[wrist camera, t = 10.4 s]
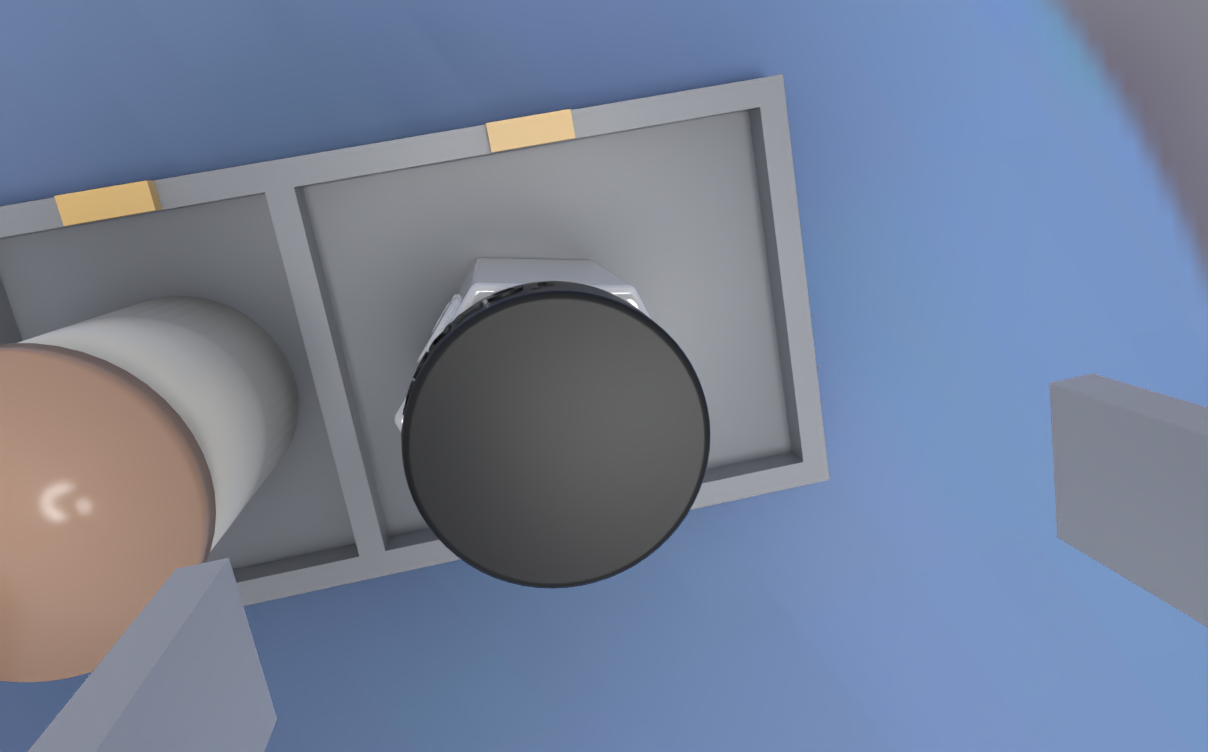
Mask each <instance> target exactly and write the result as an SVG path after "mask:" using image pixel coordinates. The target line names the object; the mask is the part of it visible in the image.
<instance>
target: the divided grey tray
mask: <svg viewBox="0 0 1208 752" xmlns="http://www.w3.org/2000/svg"><path fill="white" fill-rule="evenodd" d="M479 258H513V259H563V260H593V261H595V262H597V263H598V264H600V265H602V266H603V267H605V268H606V269H608V270H609V271H611V272H612V273H614V274H615V275H617V276H618V277H620V278H621V279H623V280H624V281H626V282H627V283H629V284H630V285H632V286H633V287H634V288H635V289H636V290H637V292H638V294H639V295H640V297H641V299H642V301H643V303H644V305H645V307H646V309H647V311H648V312H649V314H650V316H651V318H652V320H653V321H654V322H655V323H657V324H658V325H659V326H660V327H661V328H663V329H664V330H665V331H666V332H667V333H668V334H669V335H670V336H671V337H672V338H673V339H674V341H675V342H676V343H677V344H678V345H679V346H680V348H681V349H682V350H683V352H684V353H685V355H686V356H687V358H688V359H689V361H690V362H691V364H692V366H693V368H694V370H695V372H696V374H697V376H698V378H699V380H700V383H701V386H702V388H703V391H704V395H705V398H706V402H707V407H708V412H709V419H710V451H709V458H708V464H707V468H706V473H705V477H704V479H703V482H702V485H701V488H700V491H699V493H698V495H697V497H696V499H695V502H694V504H693V505H692V507H691V509H690V510H692V509H696V508H701V507H706V506H710V505H715V504H720V503H724V502H729V501H733V500H738V499H743V498H747V497H752V496H757V495H761V494H766V493H771V492H775V491H780V490H784V489H789V488H794V487H798V486H803V485H808V484H812V483H817V482H822V481H826V480H829V471H828V463H827V454H826V445H825V436H824V428H823V419H822V410H821V402H820V393H819V384H818V376H817V367H816V358H815V350H814V341H813V332H812V323H811V315H810V306H809V297H808V289H807V280H806V271H805V263H804V254H803V245H802V236H801V228H800V219H799V210H798V202H797V193H796V184H795V176H794V167H793V158H792V149H791V141H790V132H789V123H788V115H787V106H786V97H785V89H784V80H783V74H781V75H775V76H769V77H763V78H757V79H752V80H746V81H740V82H734V83H728V84H722V85H716V86H710V87H704V88H698V89H692V90H686V91H681V92H675V93H669V94H663V95H657V96H651V97H645V98H639V99H633V100H627V101H621V102H615V103H609V104H604V105H598V106H592V107H586V108H580V109H574V110H571V109H566V110H560V111H555V112H549V113H543V114H537V115H531V116H525V117H519V118H513V119H507V120H501V121H495V122H489V123H486V124H485V125H479V126H473V127H467V128H461V129H456V130H450V131H444V132H438V133H432V134H426V135H420V136H414V137H408V138H402V139H396V140H390V141H385V142H379V143H373V144H367V145H361V146H355V147H349V148H343V149H337V150H331V151H325V152H319V153H313V154H308V155H302V156H296V157H290V158H284V159H278V160H272V161H266V162H260V163H254V164H248V165H242V166H237V167H231V168H225V169H219V170H213V171H207V172H201V173H195V174H189V175H183V176H177V177H171V178H165V179H160V180H146V181H140V182H134V183H128V184H122V185H116V186H110V187H104V188H98V189H92V190H86V191H81V192H75V193H69V194H63V195H57V196H54V197H53V198H47V199H41V200H35V201H29V202H23V203H17V204H12V205H6V206H0V344H6V343H18V342H21V341H24V340H27V339H30V338H33V337H36V336H40V335H43V334H46V333H49V332H52V331H55V330H58V329H61V328H64V327H67V326H70V325H73V324H76V323H79V322H83V321H86V320H89V319H92V318H95V317H98V316H101V315H104V314H107V313H110V312H113V311H116V310H119V309H122V308H126V307H129V306H132V305H135V304H138V303H141V302H144V301H148V300H152V299H156V298H162V297H171V296H189V297H196V298H203V299H207V300H211V301H215V302H218V303H221V304H224V305H226V306H229V307H231V308H233V309H235V310H237V311H239V312H241V313H243V314H244V315H246V316H247V317H249V318H250V319H252V320H253V321H254V322H256V323H257V324H258V325H259V326H261V327H262V328H263V329H264V330H265V331H266V332H267V333H268V334H269V335H270V336H271V337H272V338H273V340H274V341H275V342H276V343H277V344H278V346H279V347H280V349H281V350H282V352H283V353H284V355H285V357H286V359H287V361H288V363H289V365H290V367H291V369H292V372H293V375H294V378H295V381H296V386H297V391H298V403H299V410H298V420H297V425H296V429H295V433H294V436H293V438H292V441H291V443H290V446H289V447H288V449H287V451H286V453H285V454H284V456H283V457H282V459H281V460H280V461H279V463H278V464H277V465H276V467H275V468H274V469H273V471H272V472H271V473H270V475H269V476H268V477H267V478H266V480H265V481H264V482H263V484H262V485H261V486H260V488H259V489H258V490H257V492H256V493H255V494H254V495H253V497H252V498H251V499H250V501H249V502H248V503H247V505H246V506H245V507H244V509H243V510H242V511H241V512H240V514H239V515H238V516H237V518H236V519H235V520H234V522H233V523H232V524H231V526H230V527H229V528H228V529H227V531H226V532H225V533H224V535H223V536H222V537H221V539H220V540H219V541H218V543H217V544H216V545H215V546H214V548H213V549H212V550H211V552H210V554H209V556H208V559H207V561H206V562H211V561H215V560H220V559H225V558H229V560H230V563H231V566H232V570H233V573H234V576H235V580H236V583H237V586H238V590H239V593H240V596H241V600H242V603H243V606H247V605H251V604H256V603H261V602H265V601H270V600H275V599H279V598H284V597H289V596H293V595H298V594H302V593H307V592H312V591H316V590H321V589H326V588H330V587H335V586H340V585H344V584H349V583H353V582H358V581H363V580H367V579H372V578H377V577H381V576H386V575H391V574H395V573H400V572H404V571H409V570H414V569H418V568H423V567H428V566H432V565H437V564H441V563H446V562H451V561H455V560H460V558H458V557H457V556H456V555H455V554H454V553H452V552H451V551H450V550H449V549H448V548H447V547H446V546H445V545H444V544H443V543H442V542H441V541H440V540H439V539H438V538H437V537H436V536H435V535H434V533H433V532H432V531H431V529H430V528H429V527H428V526H427V524H426V522H425V521H424V519H423V518H422V516H421V514H420V513H419V511H418V509H417V507H416V505H415V503H414V501H413V498H412V496H411V493H410V490H409V488H408V484H407V481H406V477H405V473H404V468H403V461H402V449H401V432H400V431H399V429H398V427H397V426H396V424H395V420H394V418H395V415H396V412H397V410H398V407H399V405H400V403H401V400H402V398H403V395H404V393H405V390H406V388H407V386H408V383H409V381H410V378H411V376H412V373H413V371H414V369H415V366H416V364H417V359H418V357H419V355H420V353H421V351H422V349H423V347H424V345H425V343H426V342H427V340H428V338H429V336H430V334H431V332H432V330H433V328H434V327H435V325H436V323H437V321H438V319H439V317H440V316H441V314H442V312H443V310H444V309H445V307H446V305H447V304H448V303H449V302H450V301H451V300H452V297H453V296H454V295H455V294H456V293H457V291H458V289H459V288H460V286H461V284H462V283H463V281H464V279H465V277H466V276H467V274H468V272H469V271H470V269H471V267H472V266H473V264H474V262H475V261H476V260H477V259H479Z"/></svg>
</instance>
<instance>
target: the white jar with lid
mask: <svg viewBox="0 0 1208 752" xmlns="http://www.w3.org/2000/svg"><path fill="white" fill-rule="evenodd" d="M298 410H299V403H298V391H297V386H296V381H295V378H294V375H293V372H292V369H291V367H290V365H289V363H288V361H287V359H286V357H285V355H284V353H283V352H282V350H281V349H280V347H279V346H278V344H277V343H276V342H275V341H274V340H273V338H272V337H271V336H270V335H269V334H268V333H267V332H266V331H265V330H264V329H263V328H262V327H261V326H259V325H258V324H257V323H256V322H254V321H253V320H252V319H250V318H249V317H247V316H246V315H244V314H243V313H241V312H239V311H237V310H235V309H233V308H231V307H229V306H226V305H224V304H221V303H218V302H215V301H211V300H207V299H203V298H196V297H189V296H171V297H162V298H156V299H152V300H148V301H144V302H141V303H138V304H135V305H132V306H129V307H126V308H122V309H119V310H116V311H113V312H110V313H107V314H104V315H101V316H98V317H95V318H92V319H89V320H86V321H83V322H79V323H76V324H73V325H70V326H67V327H64V328H61V329H58V330H55V331H52V332H49V333H46V334H43V335H40V336H36V337H33V338H30V339H27V340H24V341H21V342H18V343H6V344H0V681H9V682H43V681H53V680H59V679H65V678H71V677H75V676H78V675H82V674H85V673H89V672H93V670H94V669H95V668H96V667H97V665H98V664H99V663H100V662H101V661H102V659H103V658H104V657H105V656H106V654H107V653H108V652H109V651H110V649H111V648H112V647H113V646H114V644H115V643H116V642H117V641H118V640H119V638H120V637H121V636H122V635H123V633H124V632H125V631H126V630H127V628H128V627H129V626H130V625H131V624H132V622H133V621H134V620H135V619H136V617H137V616H138V615H139V614H140V612H141V611H142V610H143V609H144V607H145V606H146V605H147V604H148V603H149V601H150V600H151V599H152V598H153V596H154V595H155V594H156V593H157V591H158V590H159V589H160V588H161V587H162V585H163V584H164V583H165V582H166V580H167V579H168V578H169V577H170V575H171V574H172V573H173V572H174V570H175V569H178V568H182V567H187V566H192V565H197V564H201V563H206V561H207V559H208V556H209V554H210V552H211V550H212V549H213V548H214V546H215V545H216V544H217V543H218V541H219V540H220V539H221V537H222V536H223V535H224V533H225V532H226V531H227V529H228V528H229V527H230V526H231V524H232V523H233V522H234V520H235V519H236V518H237V516H238V515H239V514H240V512H241V511H242V510H243V509H244V507H245V506H246V505H247V503H248V502H249V501H250V499H251V498H252V497H253V495H254V494H255V493H256V492H257V490H258V489H259V488H260V486H261V485H262V484H263V482H264V481H265V480H266V478H267V477H268V476H269V475H270V473H271V472H272V471H273V469H274V468H275V467H276V465H277V464H278V463H279V461H280V460H281V459H282V457H283V456H284V454H285V453H286V451H287V449H288V447H289V446H290V443H291V441H292V438H293V436H294V433H295V429H296V425H297V420H298Z"/></svg>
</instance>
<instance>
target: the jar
mask: <svg viewBox="0 0 1208 752" xmlns="http://www.w3.org/2000/svg"><path fill="white" fill-rule="evenodd" d="M394 420H395V424H396V426H397V427H398V429H399V431H400V432H401V449H402V461H403V468H404V473H405V477H406V481H407V484H408V488H409V490H410V493H411V496H412V498H413V501H414V503H415V505H416V507H417V509H418V511H419V513H420V514H421V516H422V518H423V519H424V521H425V522H426V524H427V526H428V527H429V528H430V529H431V531H432V532H433V533H434V535H435V536H436V537H437V538H438V539H439V540H440V541H441V542H442V543H443V544H444V545H445V546H446V547H447V548H448V549H449V550H450V551H451V552H452V553H454V554H455V555H456V556H457V557H458V558H460V559H461V560H463V561H464V562H466V563H467V564H468V565H470V566H472V567H474V568H475V569H477V570H479V571H481V572H483V573H485V574H487V575H490V576H492V577H494V578H497V579H500V580H503V581H506V582H509V583H513V584H517V585H522V586H528V587H536V588H568V587H575V586H582V585H586V584H590V583H595V582H598V581H601V580H604V579H607V578H610V577H612V576H615V575H617V574H619V573H621V572H624V571H625V570H627V569H629V568H631V567H633V566H635V565H636V564H638V563H639V562H641V561H642V560H644V559H645V558H647V557H648V556H649V555H651V554H652V553H653V552H654V551H656V550H657V549H658V548H659V547H660V546H661V545H662V544H663V543H664V542H665V541H666V540H667V539H668V538H669V537H670V536H671V535H672V534H673V533H674V532H675V530H676V529H677V528H678V527H679V526H680V524H681V523H682V521H683V520H684V518H685V517H686V516H687V514H688V512H689V511H690V509H691V507H692V505H693V504H694V502H695V499H696V497H697V495H698V493H699V491H700V488H701V485H702V482H703V479H704V477H705V473H706V468H707V464H708V458H709V451H710V419H709V412H708V407H707V402H706V398H705V395H704V391H703V388H702V386H701V383H700V380H699V378H698V376H697V374H696V372H695V370H694V368H693V366H692V364H691V362H690V361H689V359H688V358H687V356H686V355H685V353H684V352H683V350H682V349H681V348H680V346H679V345H678V344H677V343H676V342H675V341H674V339H673V338H672V337H671V336H670V335H669V334H668V333H667V332H666V331H665V330H664V329H663V328H661V327H660V326H659V325H658V324H657V323H655V322H654V321H653V320H652V318H651V316H650V314H649V312H648V311H647V309H646V307H645V305H644V303H643V301H642V299H641V297H640V295H639V294H638V292H637V290H636V289H635V288H634V287H633V286H632V285H630V284H629V283H627V282H626V281H624V280H623V279H621V278H620V277H618V276H617V275H615V274H614V273H612V272H611V271H609V270H608V269H606V268H605V267H603V266H602V265H600V264H598V263H597V262H595V261H593V260H563V259H513V258H479V259H477V260H476V261H475V262H474V264H473V266H472V267H471V269H470V271H469V272H468V274H467V276H466V277H465V279H464V281H463V283H462V284H461V286H460V288H459V289H458V291H457V293H456V294H455V295H454V296H453V297H452V300H451V301H450V302H449V303H448V304H447V305H446V307H445V309H444V310H443V312H442V314H441V316H440V317H439V319H438V321H437V323H436V325H435V327H434V328H433V330H432V332H431V334H430V336H429V338H428V340H427V342H426V343H425V345H424V347H423V349H422V351H421V353H420V355H419V357H418V359H417V364H416V366H415V369H414V371H413V373H412V376H411V378H410V381H409V383H408V386H407V388H406V390H405V393H404V395H403V398H402V400H401V403H400V405H399V407H398V410H397V412H396V415H395V418H394Z"/></svg>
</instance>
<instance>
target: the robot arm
mask: <svg viewBox="0 0 1208 752" xmlns="http://www.w3.org/2000/svg"><path fill="white" fill-rule="evenodd" d="M1050 402H1051V422H1052V442H1053V462H1054V482H1055V502H1056V522H1057V538H1059V539H1061V540H1062V541H1064V542H1066V543H1067V544H1069V545H1071V546H1073V547H1074V548H1076V549H1078V550H1079V551H1081V552H1083V553H1084V554H1086V555H1088V556H1089V557H1091V558H1093V559H1094V560H1096V561H1098V562H1099V563H1101V564H1103V565H1104V566H1106V567H1108V568H1109V569H1111V570H1113V571H1114V572H1116V573H1118V574H1119V575H1121V576H1123V577H1124V578H1126V579H1128V580H1129V581H1131V582H1133V583H1134V584H1136V585H1138V586H1139V587H1141V588H1143V589H1144V590H1146V591H1148V592H1149V593H1151V594H1153V595H1155V596H1156V597H1158V598H1160V599H1161V600H1163V601H1165V602H1166V603H1168V604H1170V605H1171V606H1173V607H1175V608H1176V609H1178V610H1180V611H1181V612H1183V613H1185V614H1186V615H1188V616H1190V617H1191V618H1193V619H1195V620H1196V621H1198V622H1200V623H1201V624H1203V625H1205V626H1206V627H1208V408H1207V407H1204V406H1201V405H1197V404H1194V403H1191V402H1187V401H1184V400H1180V399H1177V398H1174V397H1170V396H1167V395H1163V394H1160V393H1157V392H1153V391H1150V390H1147V389H1143V388H1140V387H1136V386H1133V385H1130V384H1126V383H1123V382H1119V381H1116V380H1113V379H1109V378H1106V377H1102V376H1099V375H1096V374H1088V375H1084V376H1079V377H1074V378H1070V379H1065V380H1060V381H1056V382H1051V383H1050ZM276 720H277V717H276V714H275V711H274V707H273V704H272V700H271V697H270V694H269V690H268V687H267V684H266V680H265V677H264V674H263V670H262V667H261V664H260V660H259V657H258V653H257V650H256V647H255V643H254V640H253V637H252V633H251V630H250V627H249V623H248V620H247V617H246V613H245V610H244V607H243V603H242V600H241V596H240V593H239V590H238V586H237V583H236V580H235V576H234V573H233V570H232V566H231V563H230V560H229V558H225V559H220V560H215V561H211V562H206V563H201V564H197V565H192V566H187V567H182V568H178V569H175V570H174V572H173V573H172V574H171V575H170V577H169V578H168V579H167V580H166V582H165V583H164V584H163V585H162V587H161V588H160V589H159V590H158V591H157V593H156V594H155V595H154V596H153V598H152V599H151V600H150V601H149V603H148V604H147V605H146V606H145V607H144V609H143V610H142V611H141V612H140V614H139V615H138V616H137V617H136V619H135V620H134V621H133V622H132V624H131V625H130V626H129V627H128V628H127V630H126V631H125V632H124V633H123V635H122V636H121V637H120V638H119V640H118V641H117V642H116V643H115V644H114V646H113V647H112V648H111V649H110V651H109V652H108V653H107V654H106V656H105V657H104V658H103V659H102V661H101V662H100V663H99V664H98V665H97V667H96V668H95V669H94V670H93V672H92V673H91V674H90V675H89V677H88V678H87V679H86V680H85V681H84V683H83V684H82V685H81V686H80V688H79V689H78V690H77V691H76V693H75V694H74V695H73V696H72V698H71V699H70V700H69V701H68V702H67V704H66V705H65V706H64V707H63V709H62V710H61V711H60V712H59V714H58V715H57V716H56V717H55V718H54V720H53V721H52V722H51V723H50V725H49V726H48V727H47V728H46V730H45V731H44V732H43V733H42V734H41V736H40V737H39V738H38V739H37V741H36V742H35V743H34V744H33V746H32V747H31V748H30V749H29V751H28V752H264V751H265V749H266V746H267V744H268V741H269V739H270V736H271V733H272V731H273V728H274V726H275V723H276Z"/></svg>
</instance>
